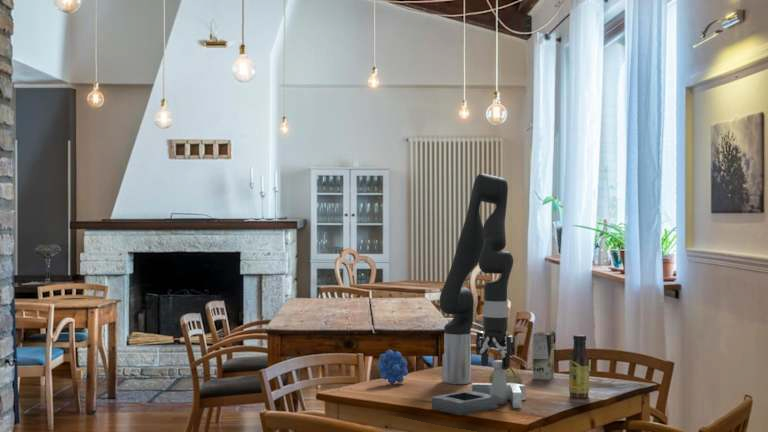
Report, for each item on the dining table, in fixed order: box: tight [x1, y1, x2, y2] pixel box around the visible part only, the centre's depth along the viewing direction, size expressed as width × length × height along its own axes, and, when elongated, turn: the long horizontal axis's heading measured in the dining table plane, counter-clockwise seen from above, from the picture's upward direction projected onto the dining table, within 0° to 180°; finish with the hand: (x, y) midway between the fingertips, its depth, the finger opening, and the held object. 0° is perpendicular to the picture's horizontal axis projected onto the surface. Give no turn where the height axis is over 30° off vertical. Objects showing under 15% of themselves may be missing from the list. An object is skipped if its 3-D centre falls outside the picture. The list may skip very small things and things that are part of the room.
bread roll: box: [489, 366, 523, 385], centre depth 277 cm, size 10×15×8 cm, turn 17°
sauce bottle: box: [568, 333, 590, 399], centre depth 267 cm, size 7×6×20 cm
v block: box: [471, 382, 526, 409], centre depth 260 cm, size 12×20×4 cm, turn 40°
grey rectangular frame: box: [430, 389, 499, 416], centre depth 249 cm, size 12×16×4 cm
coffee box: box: [532, 331, 555, 381], centre depth 302 cm, size 9×6×16 cm
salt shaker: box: [490, 359, 509, 405], centre depth 257 cm, size 6×6×13 cm
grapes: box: [376, 349, 409, 385], centre depth 287 cm, size 12×7×12 cm, turn 115°
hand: (495, 367), depth 258 cm, fingers open, 8 cm apart
